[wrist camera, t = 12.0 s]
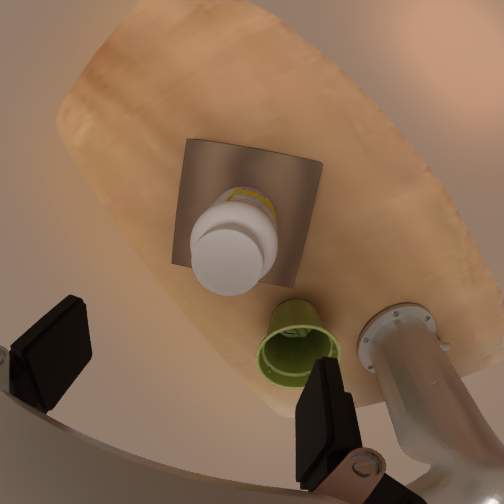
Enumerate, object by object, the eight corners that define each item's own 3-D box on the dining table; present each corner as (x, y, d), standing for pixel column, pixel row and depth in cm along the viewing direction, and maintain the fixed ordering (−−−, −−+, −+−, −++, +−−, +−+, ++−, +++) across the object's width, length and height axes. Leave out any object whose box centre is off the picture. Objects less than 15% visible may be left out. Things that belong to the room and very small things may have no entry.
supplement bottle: (227, 255, 33) (201, 320, 21) (203, 199, 31) (158, 235, 19) (286, 235, 32) (292, 292, 20) (263, 175, 30) (255, 197, 18)
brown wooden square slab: (318, 161, 32) (323, 163, 29) (291, 275, 37) (292, 288, 34) (195, 138, 32) (186, 138, 29) (180, 252, 37) (171, 263, 34)
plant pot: (339, 294, 37) (354, 333, 29) (317, 351, 41) (323, 394, 33) (269, 279, 37) (267, 317, 29) (253, 338, 41) (247, 381, 33)
